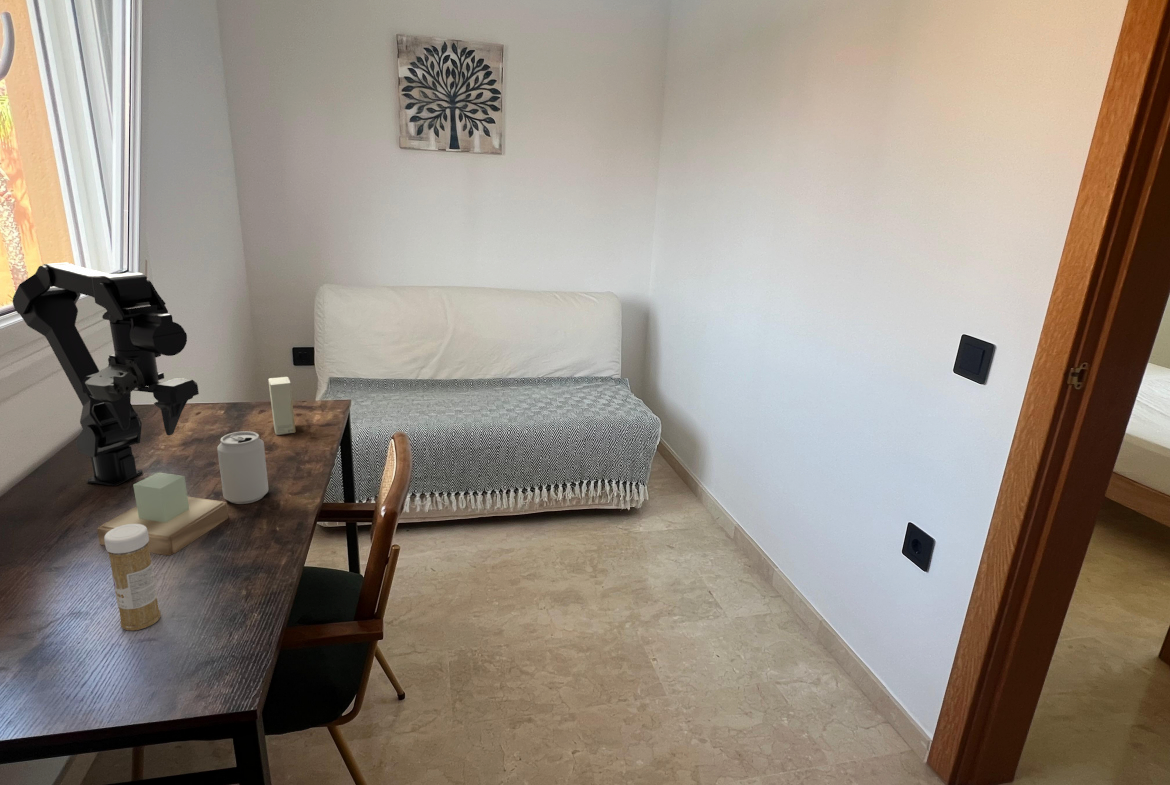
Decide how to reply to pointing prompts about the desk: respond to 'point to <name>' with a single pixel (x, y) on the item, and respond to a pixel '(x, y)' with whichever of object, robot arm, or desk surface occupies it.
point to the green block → (161, 497)
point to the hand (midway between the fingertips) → (147, 431)
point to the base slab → (174, 525)
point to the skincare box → (282, 405)
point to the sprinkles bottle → (133, 576)
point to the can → (242, 467)
